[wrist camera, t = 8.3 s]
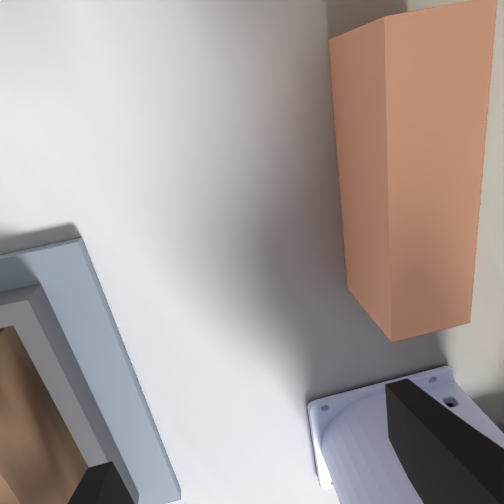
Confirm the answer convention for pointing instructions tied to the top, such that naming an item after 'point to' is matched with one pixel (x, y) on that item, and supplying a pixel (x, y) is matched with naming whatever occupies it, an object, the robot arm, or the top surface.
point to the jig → (85, 364)
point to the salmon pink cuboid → (413, 161)
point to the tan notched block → (32, 434)
